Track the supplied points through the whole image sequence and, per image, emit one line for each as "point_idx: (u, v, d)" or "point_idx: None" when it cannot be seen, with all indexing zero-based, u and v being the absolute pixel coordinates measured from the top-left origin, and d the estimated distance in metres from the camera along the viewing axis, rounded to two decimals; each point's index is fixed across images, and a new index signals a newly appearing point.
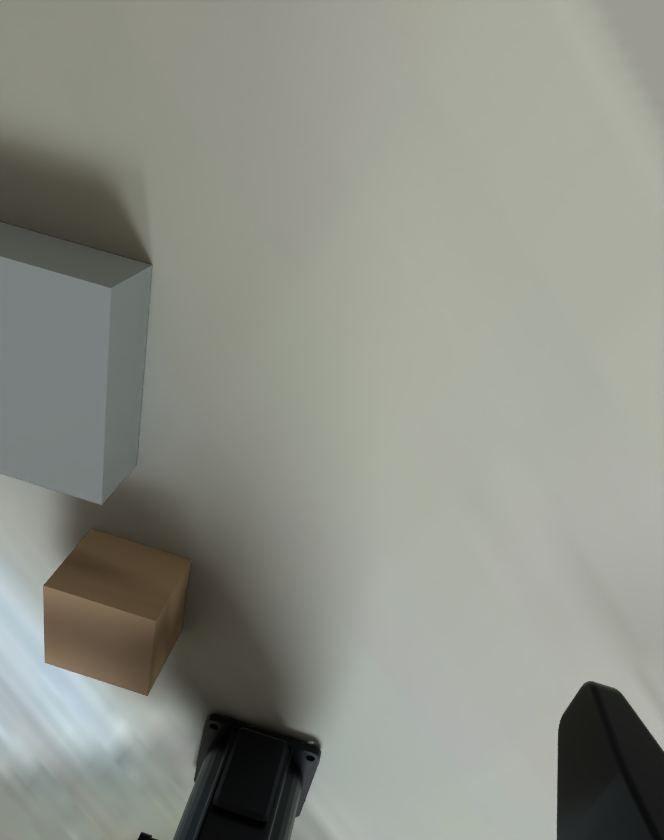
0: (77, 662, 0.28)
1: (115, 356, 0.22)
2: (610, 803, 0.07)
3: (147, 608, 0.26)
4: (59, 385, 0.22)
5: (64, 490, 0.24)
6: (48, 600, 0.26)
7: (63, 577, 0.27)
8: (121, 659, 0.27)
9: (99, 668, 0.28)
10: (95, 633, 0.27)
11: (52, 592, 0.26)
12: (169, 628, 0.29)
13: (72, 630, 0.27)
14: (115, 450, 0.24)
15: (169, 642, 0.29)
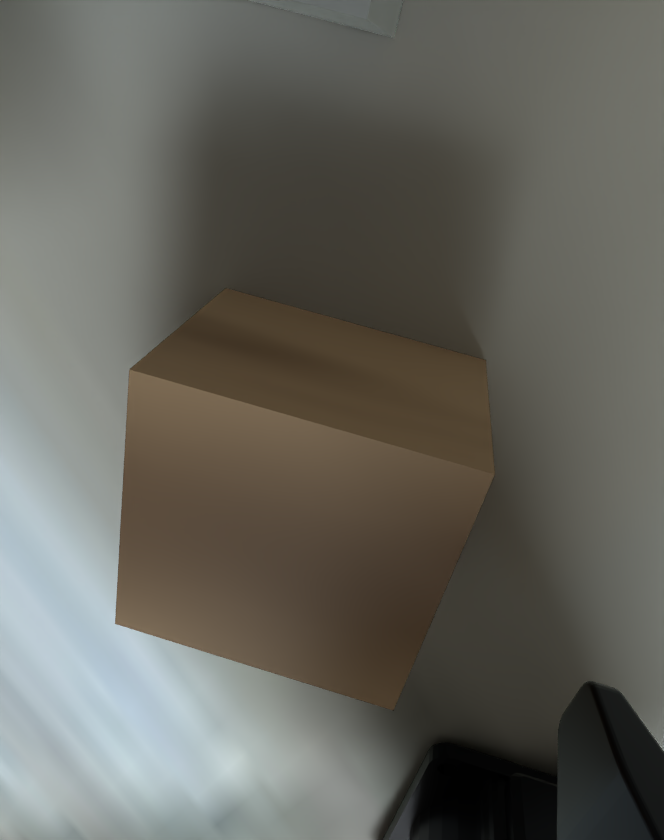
0: (207, 620, 0.10)
1: None
2: (610, 803, 0.07)
3: (451, 443, 0.08)
4: None
5: None
6: (141, 424, 0.09)
7: (185, 358, 0.09)
8: (342, 609, 0.10)
9: (269, 636, 0.10)
10: (276, 529, 0.09)
11: (157, 393, 0.08)
12: None
13: (206, 524, 0.09)
14: None
15: None
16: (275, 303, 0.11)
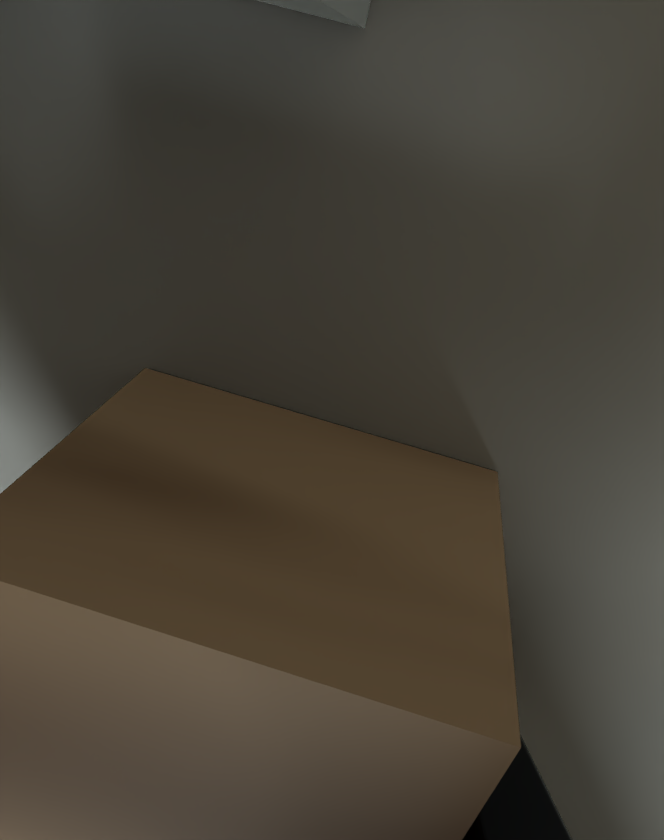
0: None
1: None
2: None
3: (448, 673, 0.05)
4: None
5: None
6: None
7: (34, 521, 0.06)
8: None
9: None
10: (179, 778, 0.06)
11: None
12: None
13: (75, 761, 0.06)
14: None
15: None
16: (207, 395, 0.08)
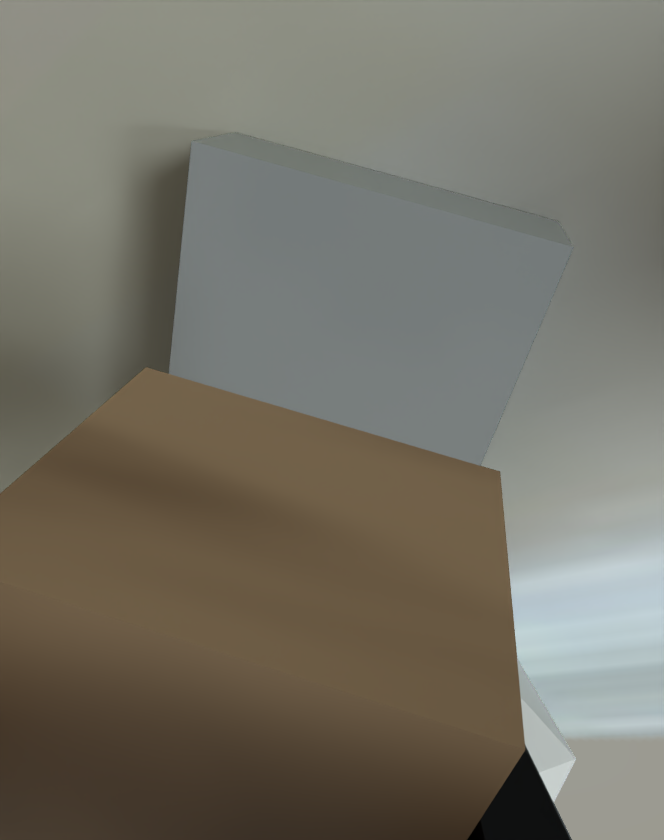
0: None
1: (305, 168, 0.15)
2: None
3: (452, 675, 0.05)
4: (345, 264, 0.15)
5: (539, 310, 0.14)
6: None
7: (34, 522, 0.06)
8: None
9: None
10: (180, 781, 0.06)
11: None
12: None
13: (76, 763, 0.06)
14: (482, 214, 0.15)
15: None
16: (208, 394, 0.08)
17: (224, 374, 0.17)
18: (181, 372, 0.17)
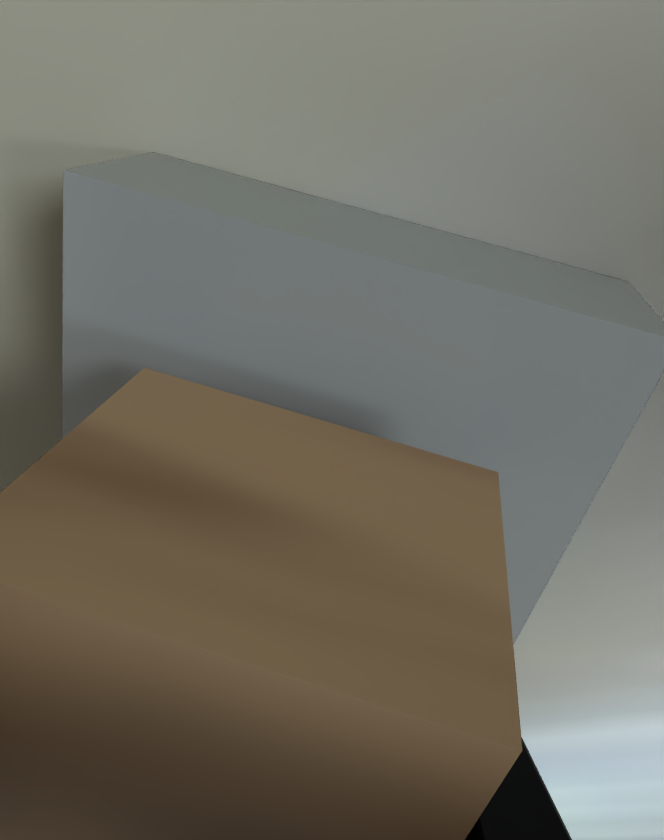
0: None
1: (247, 212, 0.09)
2: None
3: (449, 675, 0.05)
4: (313, 359, 0.10)
5: (617, 433, 0.09)
6: None
7: (31, 522, 0.06)
8: None
9: None
10: (178, 781, 0.06)
11: None
12: None
13: (74, 764, 0.06)
14: (525, 282, 0.09)
15: None
16: (207, 394, 0.08)
17: None
18: None
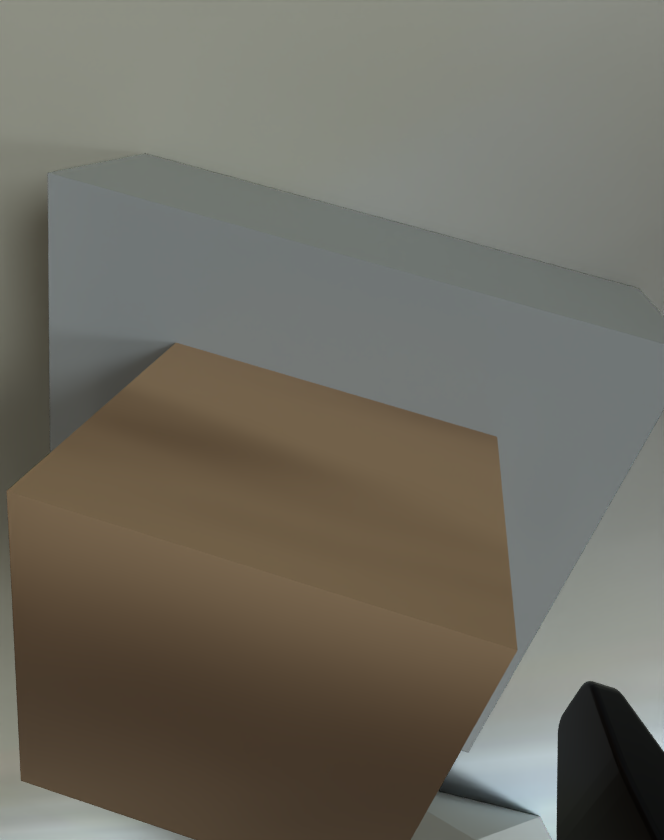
0: (135, 787, 0.08)
1: (241, 216, 0.09)
2: (610, 803, 0.07)
3: (455, 593, 0.06)
4: (310, 370, 0.09)
5: (628, 448, 0.09)
6: (30, 559, 0.06)
7: (93, 464, 0.07)
8: (308, 788, 0.07)
9: (214, 810, 0.08)
10: (218, 692, 0.07)
11: (47, 522, 0.06)
12: None
13: (126, 680, 0.07)
14: (532, 289, 0.09)
15: None
16: (233, 366, 0.09)
17: None
18: None
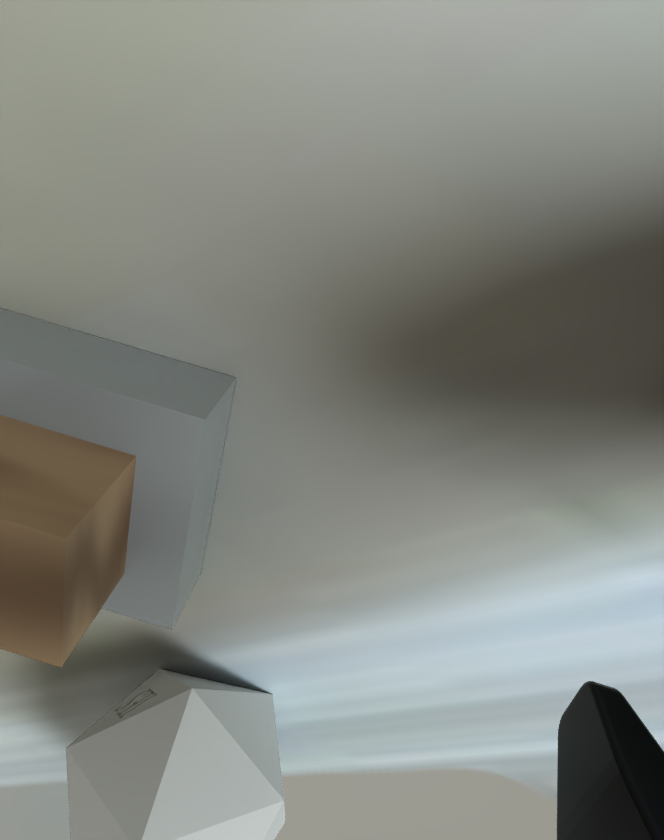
0: None
1: (8, 351, 0.18)
2: (610, 803, 0.07)
3: (54, 519, 0.16)
4: (45, 423, 0.19)
5: (193, 461, 0.19)
6: None
7: None
8: (16, 608, 0.17)
9: None
10: None
11: None
12: (98, 563, 0.18)
13: None
14: (149, 386, 0.19)
15: (100, 587, 0.19)
16: (8, 421, 0.19)
17: None
18: None
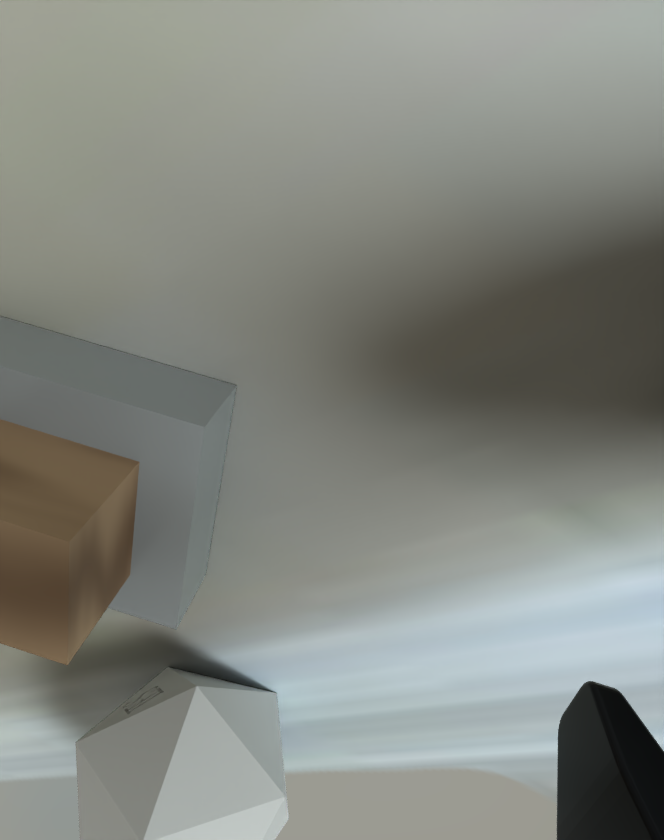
0: None
1: (17, 361, 0.19)
2: (610, 803, 0.07)
3: (58, 523, 0.17)
4: (53, 430, 0.20)
5: (194, 467, 0.19)
6: None
7: None
8: (24, 608, 0.18)
9: None
10: None
11: None
12: (103, 565, 0.19)
13: None
14: (151, 394, 0.19)
15: (105, 588, 0.20)
16: (17, 429, 0.20)
17: None
18: None
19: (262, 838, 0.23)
